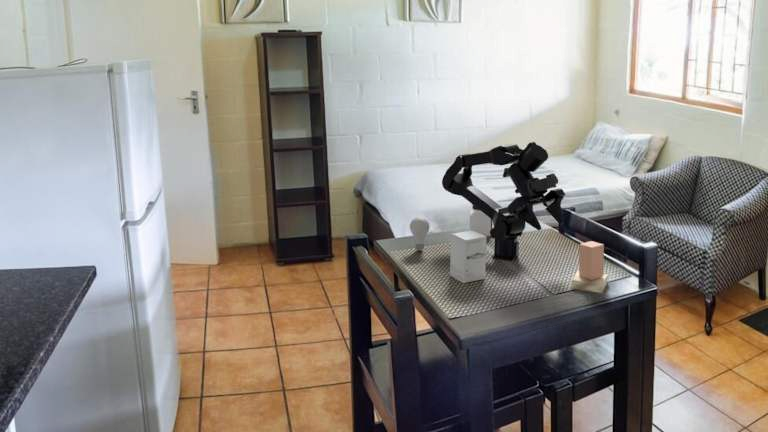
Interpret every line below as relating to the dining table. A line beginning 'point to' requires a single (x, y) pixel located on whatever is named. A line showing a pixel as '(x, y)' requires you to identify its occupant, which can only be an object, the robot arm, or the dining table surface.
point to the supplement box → (468, 256)
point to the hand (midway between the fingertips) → (551, 226)
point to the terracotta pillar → (591, 260)
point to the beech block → (589, 283)
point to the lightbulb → (419, 231)
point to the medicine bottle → (480, 222)
